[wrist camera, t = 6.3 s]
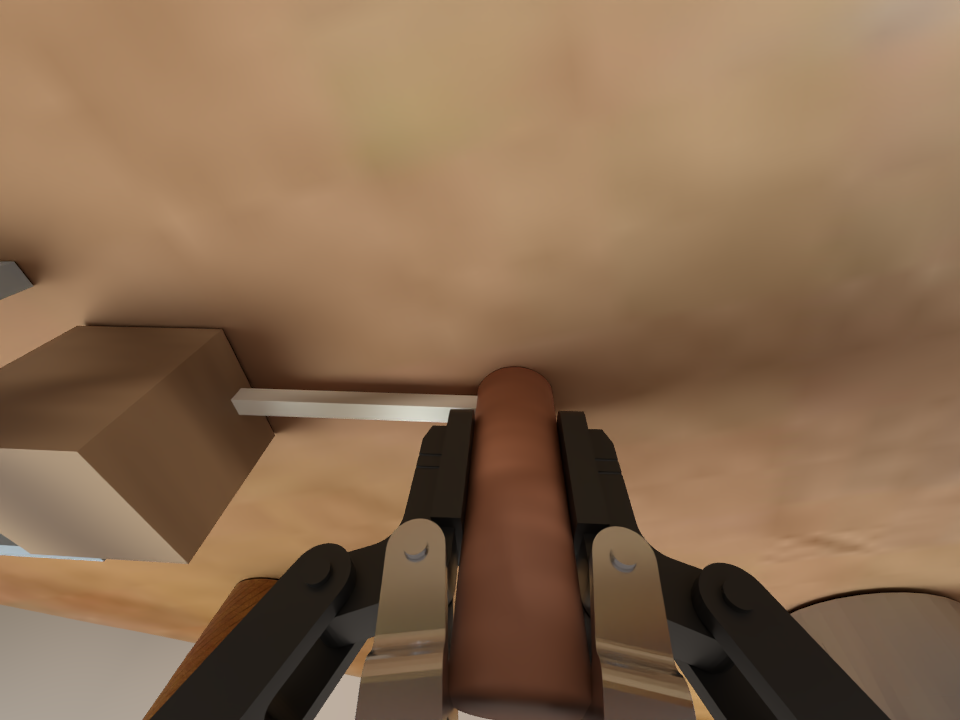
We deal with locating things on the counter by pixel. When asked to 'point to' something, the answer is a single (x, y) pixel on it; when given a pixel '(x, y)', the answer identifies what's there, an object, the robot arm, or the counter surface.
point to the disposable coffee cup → (215, 633)
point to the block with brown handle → (236, 449)
